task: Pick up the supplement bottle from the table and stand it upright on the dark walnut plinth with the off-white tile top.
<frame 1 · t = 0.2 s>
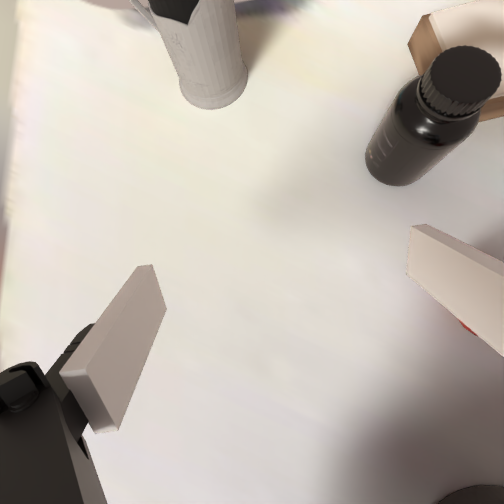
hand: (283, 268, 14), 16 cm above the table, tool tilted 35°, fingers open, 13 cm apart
plinth: (475, 73, 32), on the table
supplement bottle: (393, 160, 31), on the table
glass holder: (195, 72, 35), on the table
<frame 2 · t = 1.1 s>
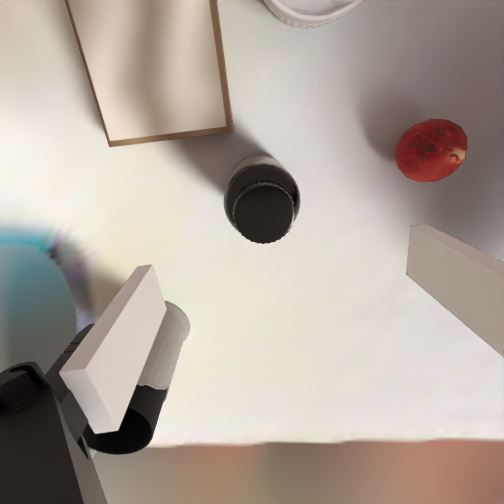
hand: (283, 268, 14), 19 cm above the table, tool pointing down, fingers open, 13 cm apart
plinth: (165, 73, 27), on the table
onion: (407, 149, 30), on the table
supplement bottle: (258, 185, 32), on the table
glass holder: (150, 337, 40), on the table
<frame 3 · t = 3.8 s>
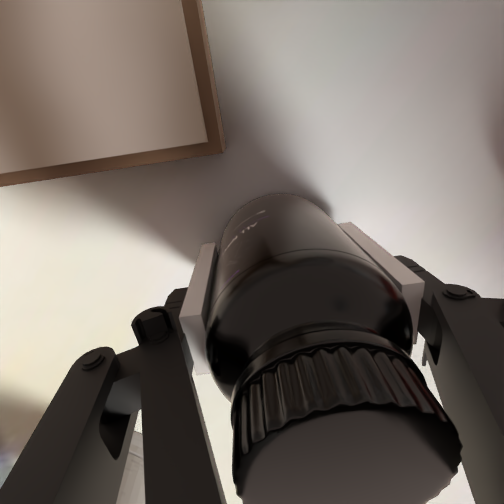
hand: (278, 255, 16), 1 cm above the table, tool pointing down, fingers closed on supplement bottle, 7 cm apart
plinth: (63, 21, 12), on the table
supplement bottle: (275, 246, 17), on the table, touching gripper
glass holder: (104, 472, 25), on the table
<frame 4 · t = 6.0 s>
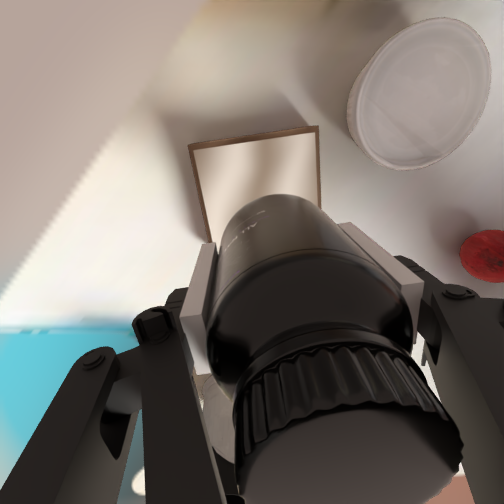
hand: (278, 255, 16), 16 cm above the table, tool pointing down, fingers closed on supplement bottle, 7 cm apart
plinth: (258, 193, 30), on the table
onion: (466, 243, 34), on the table
supplement bottle: (275, 246, 17), point 15 cm above the table, touching gripper
glass holder: (221, 400, 44), on the table
ramekin: (389, 106, 28), on the table
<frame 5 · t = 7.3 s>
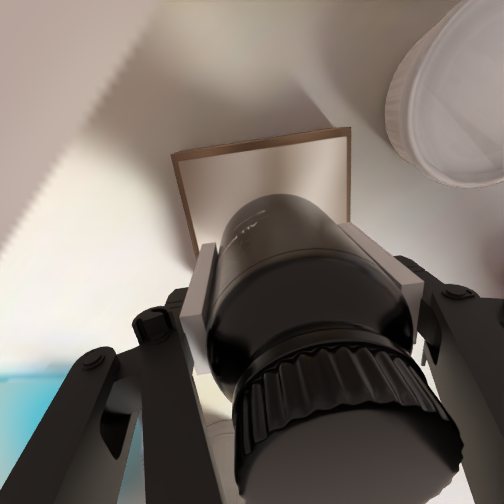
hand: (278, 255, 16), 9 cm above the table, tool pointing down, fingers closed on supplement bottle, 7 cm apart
plinth: (266, 214, 23), on the table
supplement bottle: (275, 246, 17), point 7 cm above the table, touching gripper
glass holder: (220, 451, 37), on the table
ramekin: (441, 101, 21), on the table
when the fingers open (6 cm above the table, at t = 8.5 s): supplement bottle drops 1 cm, resting on plinth.
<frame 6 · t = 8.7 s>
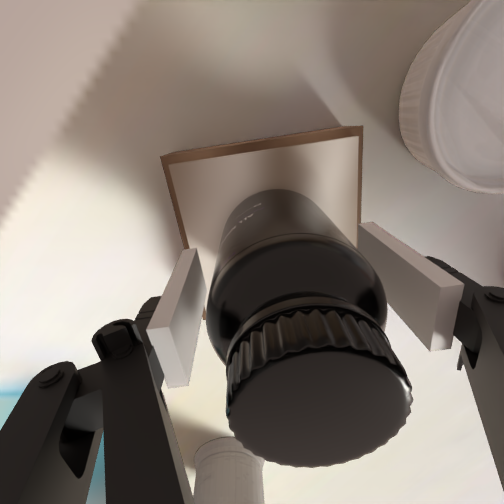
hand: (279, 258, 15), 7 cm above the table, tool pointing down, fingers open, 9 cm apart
plinth: (267, 220, 21), on the table
supplement bottle: (273, 238, 18), point 4 cm above the table, touching plinth
glass holder: (218, 469, 35), on the table
ramekin: (460, 97, 19), on the table
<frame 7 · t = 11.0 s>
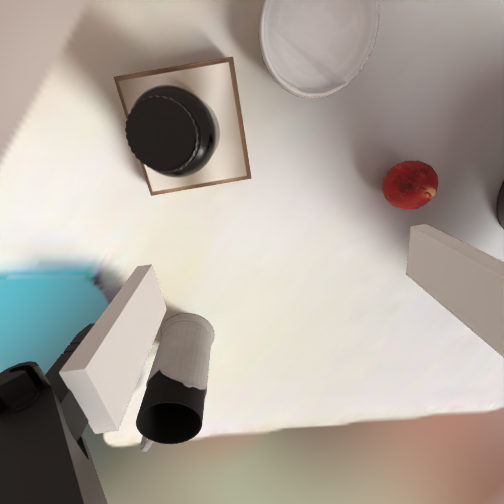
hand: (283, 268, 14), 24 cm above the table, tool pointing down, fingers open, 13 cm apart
plinth: (192, 131, 33), on the table
onion: (391, 179, 37), on the table
supplement bottle: (188, 132, 29), point 4 cm above the table, touching plinth
glass holder: (180, 345, 46), on the table
ramekin: (305, 44, 30), on the table
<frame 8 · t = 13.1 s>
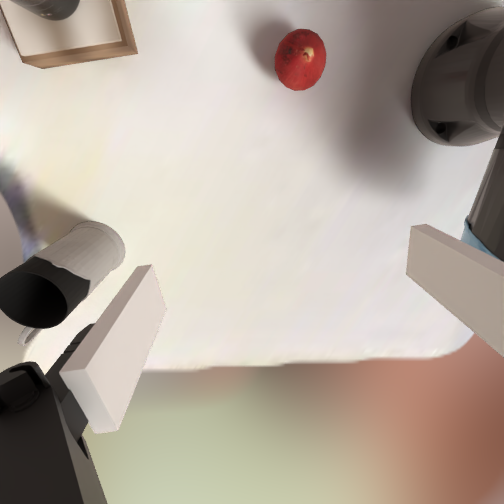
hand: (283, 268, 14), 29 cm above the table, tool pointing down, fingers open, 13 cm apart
onion: (293, 68, 35), on the table
glass holder: (91, 260, 44), on the table
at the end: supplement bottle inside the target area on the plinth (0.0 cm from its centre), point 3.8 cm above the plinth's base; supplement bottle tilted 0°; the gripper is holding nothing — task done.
